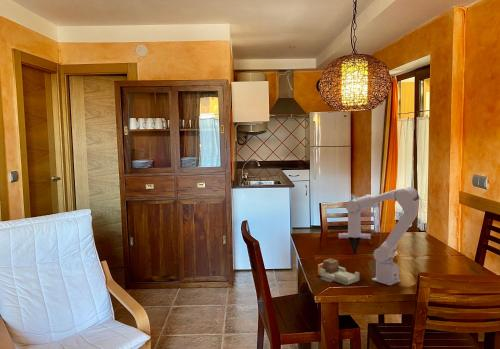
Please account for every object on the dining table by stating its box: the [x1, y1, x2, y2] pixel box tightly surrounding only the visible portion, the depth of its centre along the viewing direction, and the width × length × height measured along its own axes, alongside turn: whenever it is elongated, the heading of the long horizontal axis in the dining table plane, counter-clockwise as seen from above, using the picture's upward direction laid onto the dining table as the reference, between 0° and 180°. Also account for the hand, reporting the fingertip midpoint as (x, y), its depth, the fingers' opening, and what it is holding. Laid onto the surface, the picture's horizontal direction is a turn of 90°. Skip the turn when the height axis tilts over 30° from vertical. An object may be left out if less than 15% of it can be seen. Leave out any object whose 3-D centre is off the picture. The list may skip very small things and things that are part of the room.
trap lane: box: [317, 262, 361, 286], centre depth 179 cm, size 17×9×5 cm, turn 36°
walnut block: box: [322, 258, 340, 274], centre depth 183 cm, size 5×5×5 cm
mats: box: [319, 276, 335, 283], centre depth 179 cm, size 11×15×1 cm
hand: (354, 253), depth 184 cm, fingers closed
